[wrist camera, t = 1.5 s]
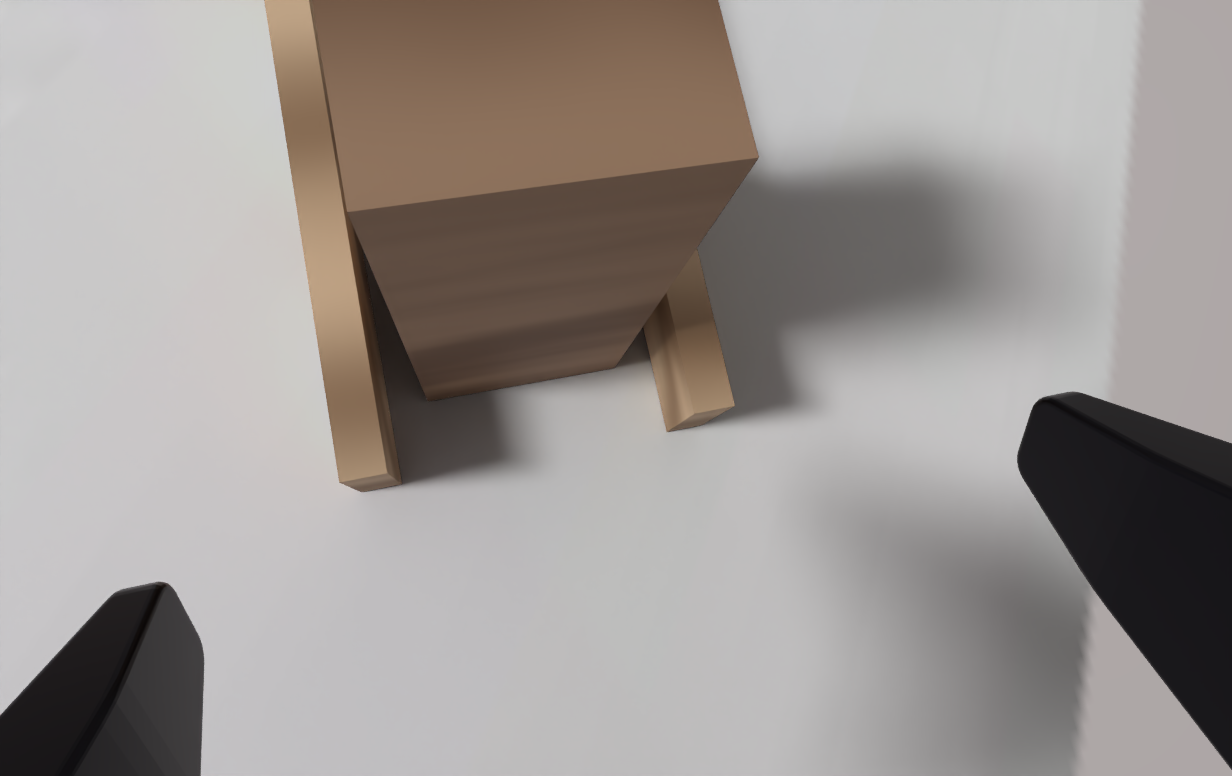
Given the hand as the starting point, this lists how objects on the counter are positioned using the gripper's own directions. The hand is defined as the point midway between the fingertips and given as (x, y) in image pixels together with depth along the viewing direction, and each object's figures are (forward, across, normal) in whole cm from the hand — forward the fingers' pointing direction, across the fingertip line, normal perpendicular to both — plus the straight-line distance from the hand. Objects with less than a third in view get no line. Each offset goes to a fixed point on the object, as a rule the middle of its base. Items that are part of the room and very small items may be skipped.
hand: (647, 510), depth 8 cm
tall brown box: (+14, 0, +4) cm, 14 cm away
